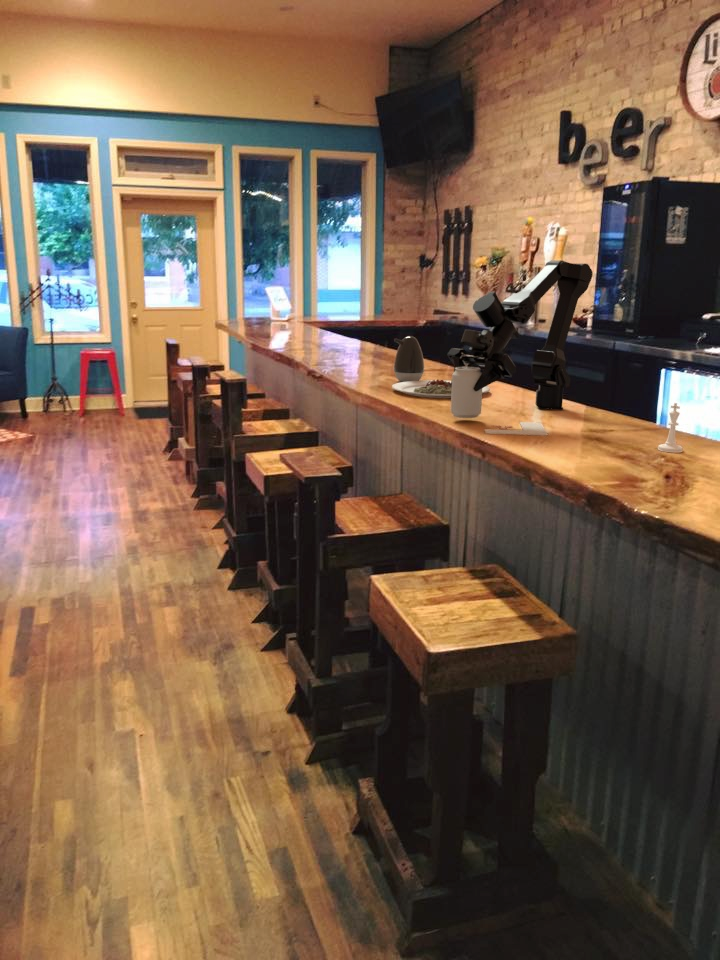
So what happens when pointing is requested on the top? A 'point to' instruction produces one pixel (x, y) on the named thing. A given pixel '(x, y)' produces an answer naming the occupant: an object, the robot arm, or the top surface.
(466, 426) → the top surface
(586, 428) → the top surface
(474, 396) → the can
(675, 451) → the chess piece
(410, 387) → the plated food
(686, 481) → the top surface
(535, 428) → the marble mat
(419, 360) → the pump dispenser
